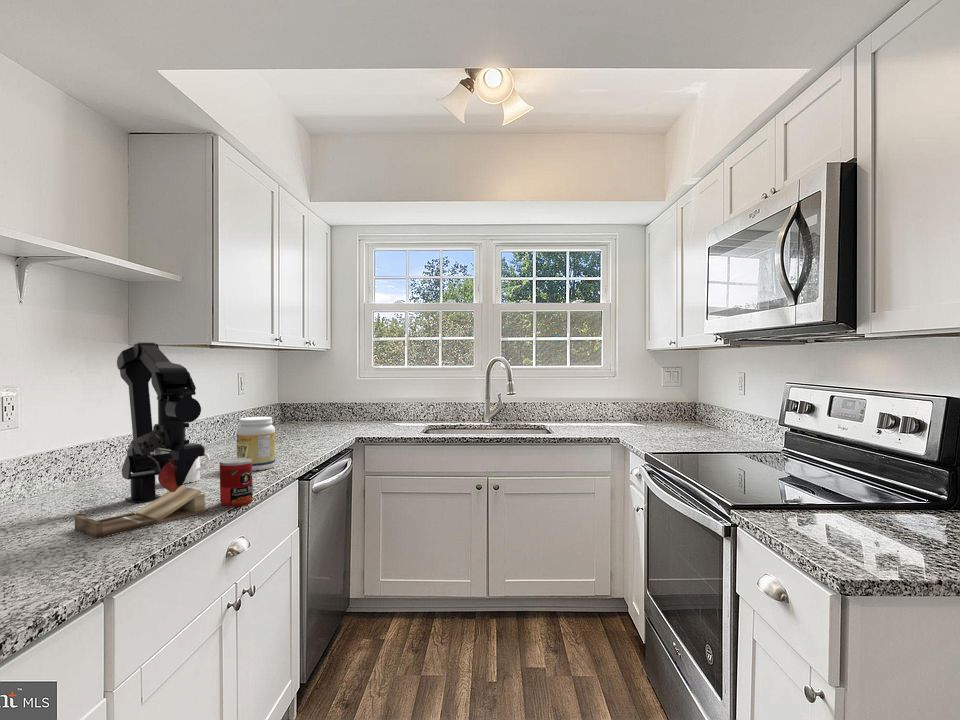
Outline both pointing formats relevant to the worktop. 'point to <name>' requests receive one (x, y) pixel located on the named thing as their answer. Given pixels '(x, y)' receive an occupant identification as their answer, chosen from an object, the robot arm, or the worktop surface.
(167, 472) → the onion
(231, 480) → the canned food
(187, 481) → the mug
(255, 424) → the supplement tub
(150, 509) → the ramp
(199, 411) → the robot arm
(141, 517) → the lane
